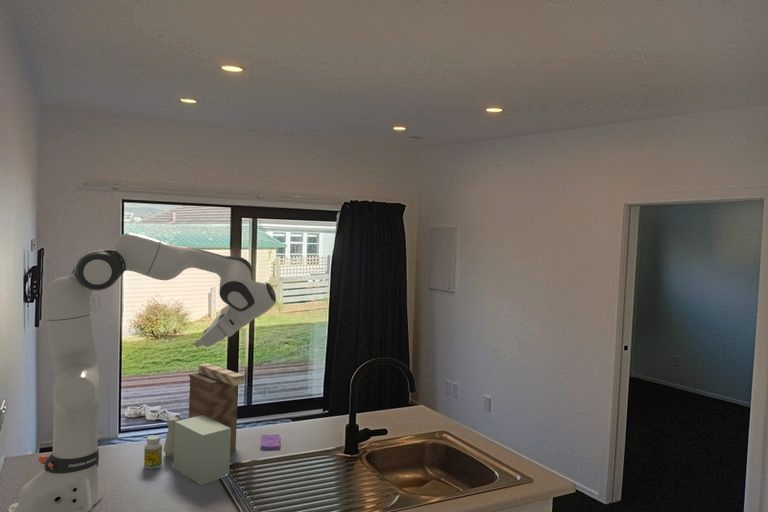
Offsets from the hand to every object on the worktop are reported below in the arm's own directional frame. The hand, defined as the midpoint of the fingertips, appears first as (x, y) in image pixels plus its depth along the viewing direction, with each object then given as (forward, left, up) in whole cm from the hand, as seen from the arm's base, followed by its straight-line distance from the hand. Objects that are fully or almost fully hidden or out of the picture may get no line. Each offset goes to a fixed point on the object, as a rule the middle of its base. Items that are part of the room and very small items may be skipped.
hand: (200, 338), depth 184 cm
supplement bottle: (-11, +9, -43) cm, 45 cm away
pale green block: (-2, -6, -42) cm, 43 cm away
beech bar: (+12, +7, -16) cm, 22 cm away
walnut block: (+12, +11, -42) cm, 46 cm away
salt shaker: (-2, +13, -43) cm, 45 cm away
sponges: (+30, 0, -43) cm, 53 cm away
